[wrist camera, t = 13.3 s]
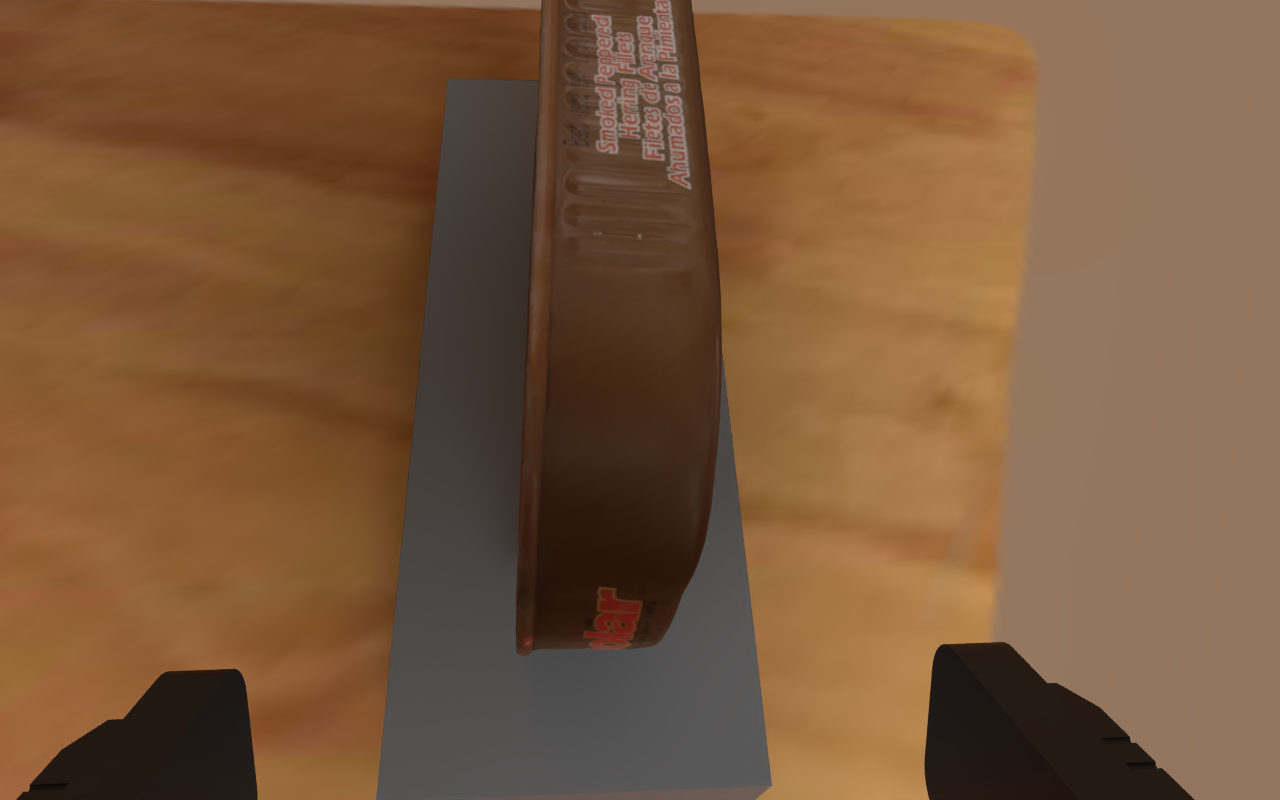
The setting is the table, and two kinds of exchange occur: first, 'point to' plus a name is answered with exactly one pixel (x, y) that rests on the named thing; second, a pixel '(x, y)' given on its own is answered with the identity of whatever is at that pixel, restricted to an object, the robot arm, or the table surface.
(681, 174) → the tin
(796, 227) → the table surface
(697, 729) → the base brick
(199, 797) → the robot arm
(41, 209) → the table surface
